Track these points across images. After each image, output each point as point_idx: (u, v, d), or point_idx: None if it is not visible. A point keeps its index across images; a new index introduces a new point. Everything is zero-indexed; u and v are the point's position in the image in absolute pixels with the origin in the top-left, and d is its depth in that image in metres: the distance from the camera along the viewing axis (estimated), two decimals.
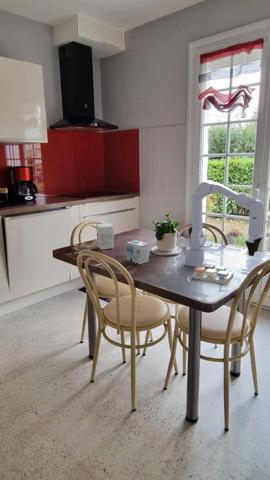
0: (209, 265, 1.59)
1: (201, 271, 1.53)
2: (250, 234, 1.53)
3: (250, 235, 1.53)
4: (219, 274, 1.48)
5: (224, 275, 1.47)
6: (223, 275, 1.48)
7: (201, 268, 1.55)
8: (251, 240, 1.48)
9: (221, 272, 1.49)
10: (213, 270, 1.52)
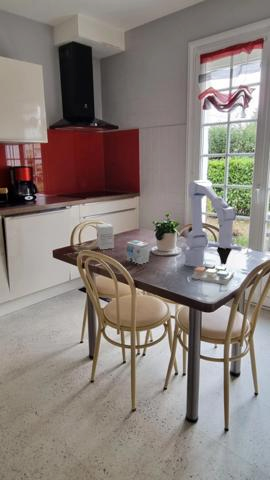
0: (209, 265, 1.59)
1: (201, 271, 1.53)
2: None
3: None
4: (219, 274, 1.48)
5: (224, 275, 1.47)
6: (223, 275, 1.48)
7: (201, 268, 1.55)
8: None
9: (221, 272, 1.49)
10: (213, 270, 1.52)
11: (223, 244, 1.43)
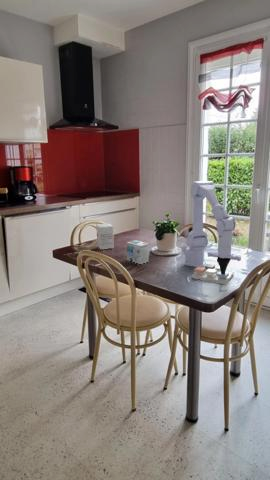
0: (209, 265, 1.59)
1: (201, 271, 1.53)
2: None
3: None
4: (219, 275, 1.49)
5: (224, 276, 1.47)
6: (223, 276, 1.48)
7: (201, 268, 1.55)
8: None
9: None
10: (213, 270, 1.52)
11: (222, 254, 1.45)
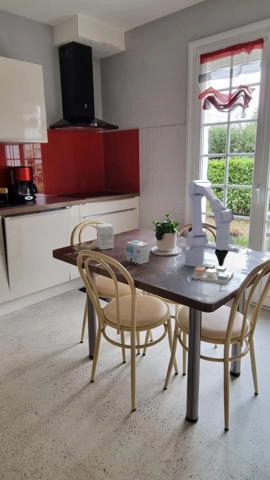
0: (209, 265, 1.59)
1: (201, 271, 1.53)
2: None
3: None
4: (219, 276, 1.49)
5: (224, 277, 1.48)
6: (223, 277, 1.48)
7: (201, 268, 1.55)
8: None
9: (221, 274, 1.50)
10: (213, 270, 1.52)
11: (220, 246, 1.44)
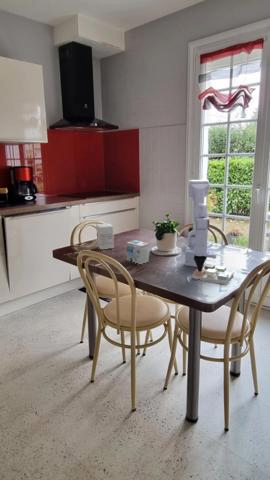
0: (209, 265, 1.59)
1: (201, 273, 1.53)
2: None
3: None
4: (219, 276, 1.49)
5: (224, 277, 1.48)
6: (223, 277, 1.48)
7: None
8: None
9: (221, 274, 1.50)
10: (213, 270, 1.52)
11: (199, 252, 1.50)
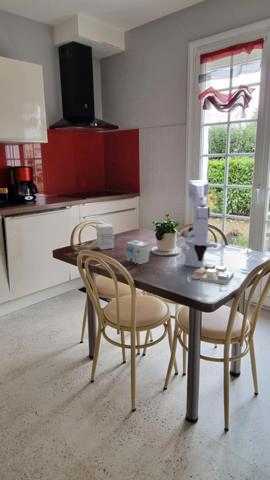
0: (209, 265, 1.59)
1: (201, 273, 1.53)
2: None
3: None
4: (219, 276, 1.49)
5: (224, 277, 1.48)
6: (223, 277, 1.48)
7: (201, 270, 1.55)
8: None
9: (221, 274, 1.50)
10: (213, 270, 1.52)
11: (199, 242, 1.49)
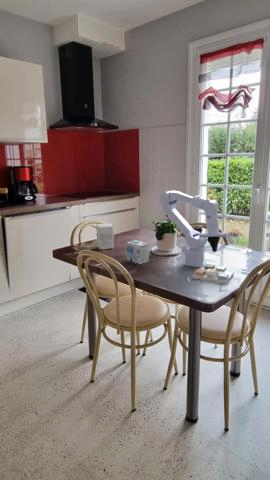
0: (209, 265, 1.59)
1: (201, 273, 1.53)
2: None
3: None
4: (219, 276, 1.49)
5: (224, 277, 1.48)
6: (223, 277, 1.48)
7: (201, 270, 1.55)
8: None
9: (221, 274, 1.50)
10: (213, 270, 1.52)
11: (211, 233, 1.60)
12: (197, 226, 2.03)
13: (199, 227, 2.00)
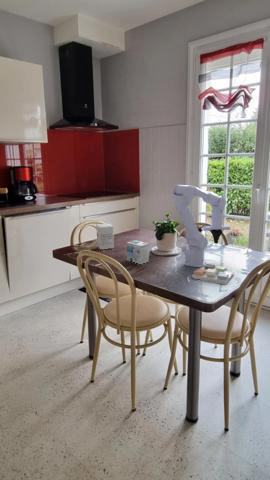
0: (209, 265, 1.59)
1: (201, 273, 1.53)
2: None
3: (211, 225, 1.77)
4: (219, 276, 1.49)
5: (224, 277, 1.48)
6: (223, 277, 1.48)
7: (201, 270, 1.55)
8: (203, 228, 1.75)
9: (221, 274, 1.50)
10: (213, 270, 1.52)
11: (218, 226, 1.73)
12: (197, 226, 2.03)
13: (199, 227, 2.00)
